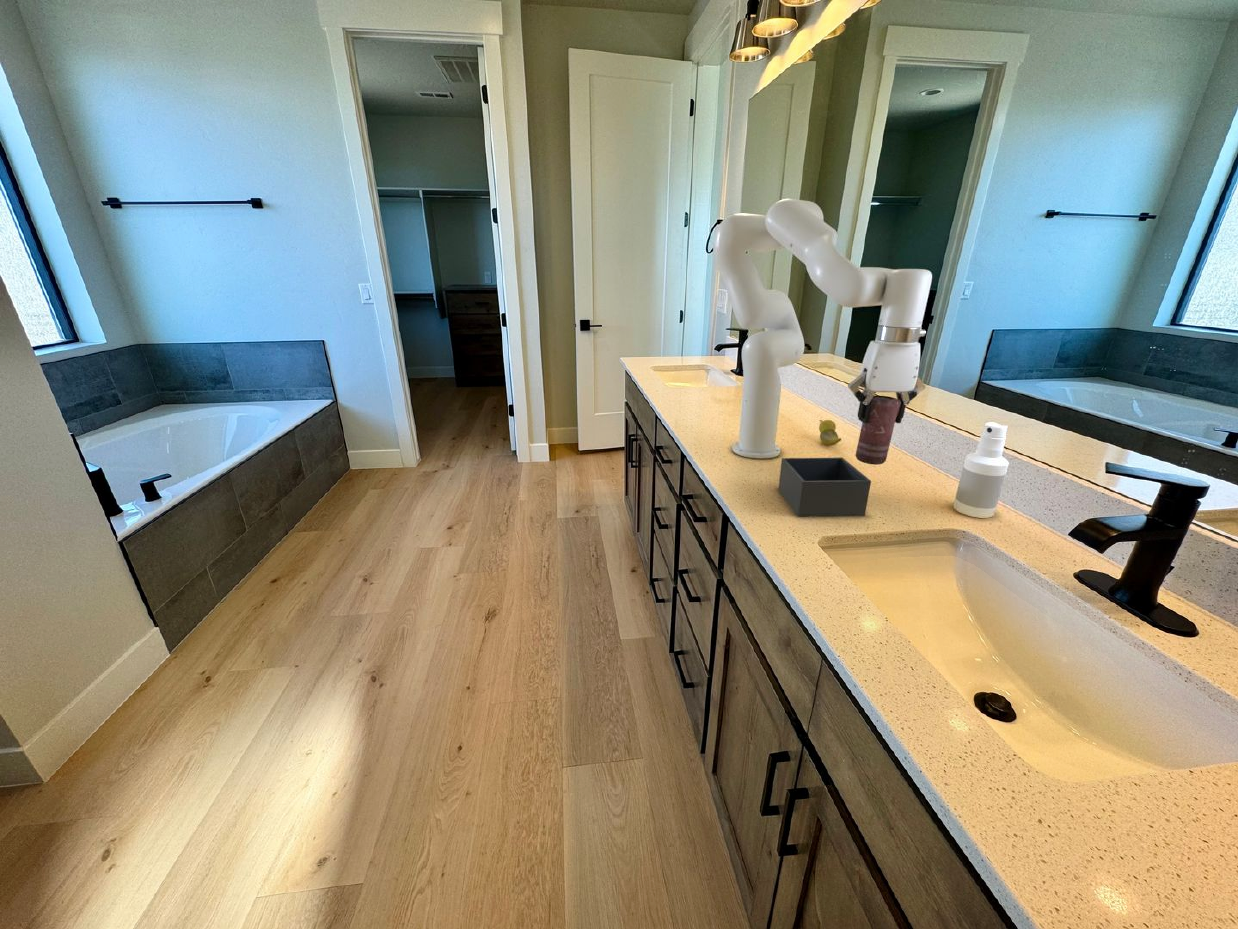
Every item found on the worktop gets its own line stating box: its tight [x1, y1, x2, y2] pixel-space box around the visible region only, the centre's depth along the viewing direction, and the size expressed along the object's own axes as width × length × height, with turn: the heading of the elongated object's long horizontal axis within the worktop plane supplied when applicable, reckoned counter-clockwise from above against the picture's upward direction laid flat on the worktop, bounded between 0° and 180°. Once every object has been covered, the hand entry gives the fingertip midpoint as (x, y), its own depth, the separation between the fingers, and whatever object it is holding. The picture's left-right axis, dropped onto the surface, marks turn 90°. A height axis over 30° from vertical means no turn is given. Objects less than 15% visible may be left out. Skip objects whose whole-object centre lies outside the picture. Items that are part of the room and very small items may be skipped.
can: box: [855, 394, 901, 466], centre depth 106 cm, size 6×6×14 cm
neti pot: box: [818, 419, 842, 446], centre depth 137 cm, size 4×15×6 cm, turn 0°
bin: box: [778, 456, 872, 518], centre depth 102 cm, size 13×13×8 cm
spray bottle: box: [952, 421, 1010, 519], centre depth 95 cm, size 7×7×18 cm
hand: (879, 420), depth 105 cm, fingers closed on can, 6 cm apart
